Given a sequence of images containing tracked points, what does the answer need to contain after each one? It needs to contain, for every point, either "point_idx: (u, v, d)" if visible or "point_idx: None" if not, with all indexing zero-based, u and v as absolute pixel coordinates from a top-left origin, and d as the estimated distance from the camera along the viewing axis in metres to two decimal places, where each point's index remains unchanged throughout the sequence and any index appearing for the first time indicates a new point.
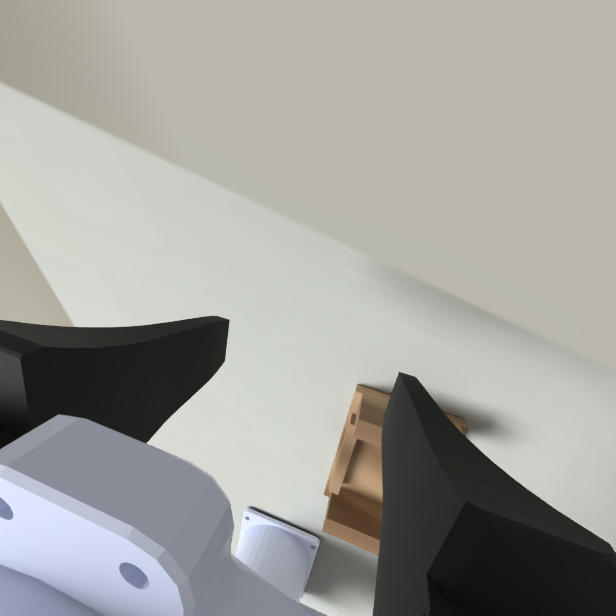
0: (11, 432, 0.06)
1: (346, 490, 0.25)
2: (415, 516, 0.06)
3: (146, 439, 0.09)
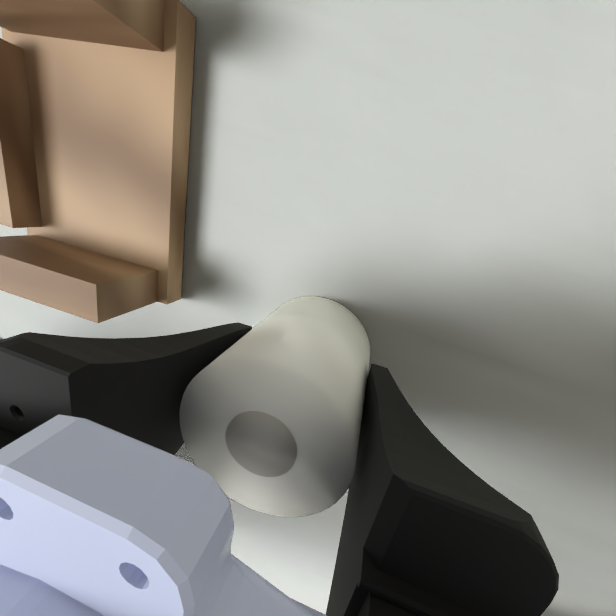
0: None
1: (51, 239, 0.14)
2: (364, 496, 0.06)
3: (175, 451, 0.09)
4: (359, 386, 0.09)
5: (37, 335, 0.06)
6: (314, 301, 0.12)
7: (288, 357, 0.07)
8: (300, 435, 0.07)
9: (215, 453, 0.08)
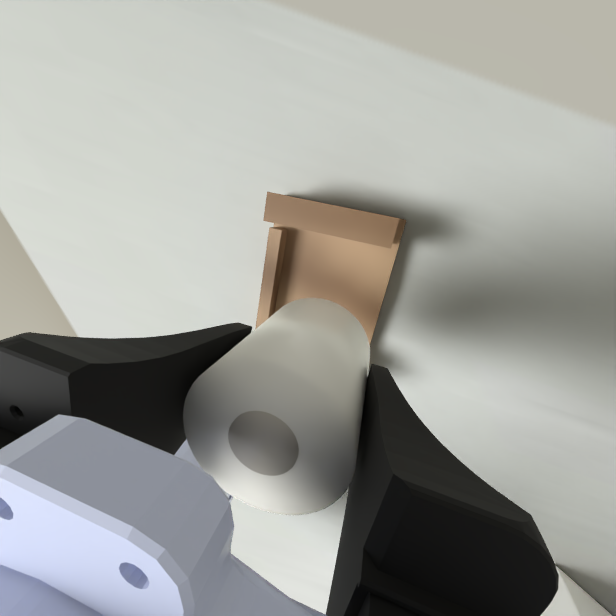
0: None
1: None
2: (364, 496, 0.06)
3: (174, 451, 0.09)
4: (357, 382, 0.09)
5: (37, 335, 0.06)
6: (311, 302, 0.12)
7: (283, 356, 0.07)
8: (300, 432, 0.07)
9: (220, 455, 0.09)
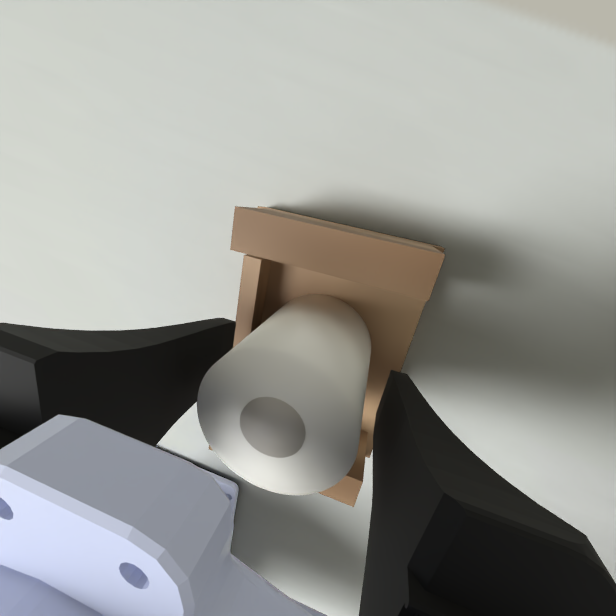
0: None
1: None
2: (399, 510, 0.06)
3: (155, 443, 0.09)
4: (360, 371, 0.10)
5: (10, 325, 0.06)
6: (315, 298, 0.13)
7: (292, 346, 0.08)
8: (307, 416, 0.08)
9: (231, 439, 0.09)
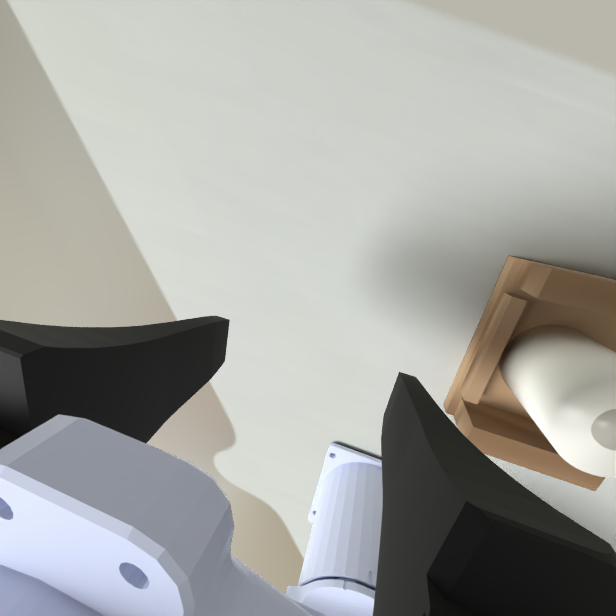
0: (11, 432, 0.06)
1: (480, 403, 0.19)
2: (415, 516, 0.06)
3: (146, 439, 0.09)
4: None
5: None
6: (566, 329, 0.16)
7: None
8: None
9: (575, 438, 0.13)
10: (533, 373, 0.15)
